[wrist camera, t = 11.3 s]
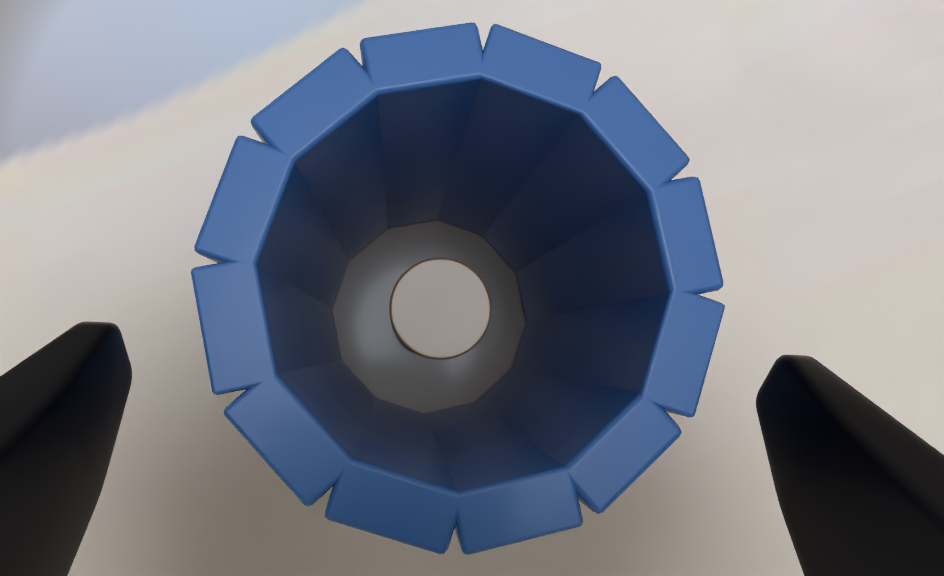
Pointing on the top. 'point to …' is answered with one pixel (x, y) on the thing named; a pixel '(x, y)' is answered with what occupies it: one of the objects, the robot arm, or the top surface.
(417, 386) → the stand
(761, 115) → the top surface
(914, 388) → the top surface
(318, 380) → the blue ribbed vase
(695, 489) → the top surface
